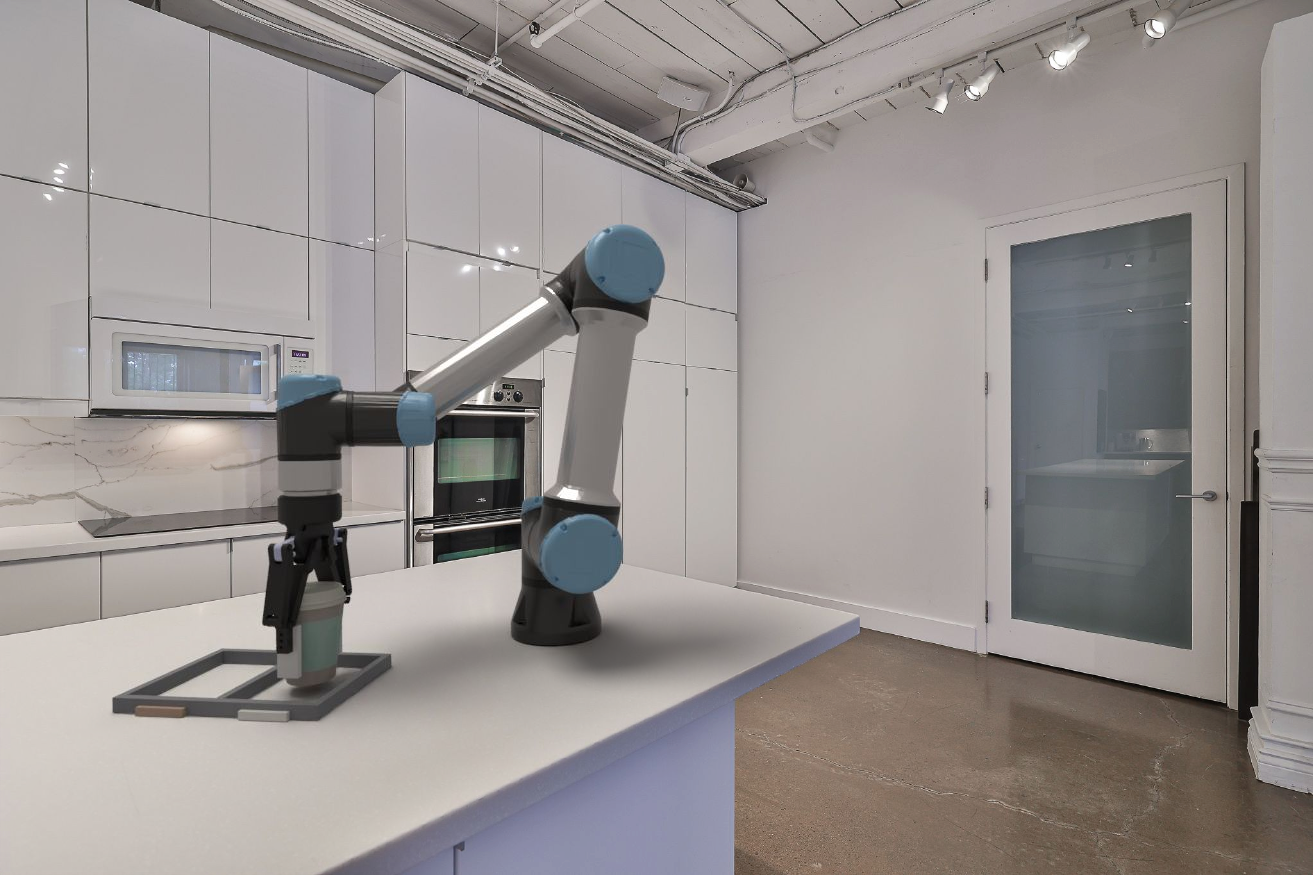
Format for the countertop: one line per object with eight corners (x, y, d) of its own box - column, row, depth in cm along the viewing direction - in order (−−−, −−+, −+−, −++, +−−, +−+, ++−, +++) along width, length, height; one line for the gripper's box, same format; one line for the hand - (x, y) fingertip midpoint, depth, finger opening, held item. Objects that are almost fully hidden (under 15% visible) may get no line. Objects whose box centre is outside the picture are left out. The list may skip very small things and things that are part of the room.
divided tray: (391, 666, 96) (391, 653, 96) (314, 722, 77) (314, 707, 77) (222, 660, 98) (221, 648, 98) (108, 714, 80) (107, 699, 80)
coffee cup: (361, 670, 90) (361, 582, 90) (309, 694, 82) (309, 597, 82) (312, 663, 93) (312, 578, 93) (258, 685, 85) (257, 592, 85)
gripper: (329, 485, 98) (330, 637, 98) (224, 501, 77) (225, 695, 77) (378, 485, 97) (379, 639, 98) (285, 501, 76) (287, 697, 77)
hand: (311, 663), depth 87 cm, fingers closed on coffee cup, 8 cm apart
